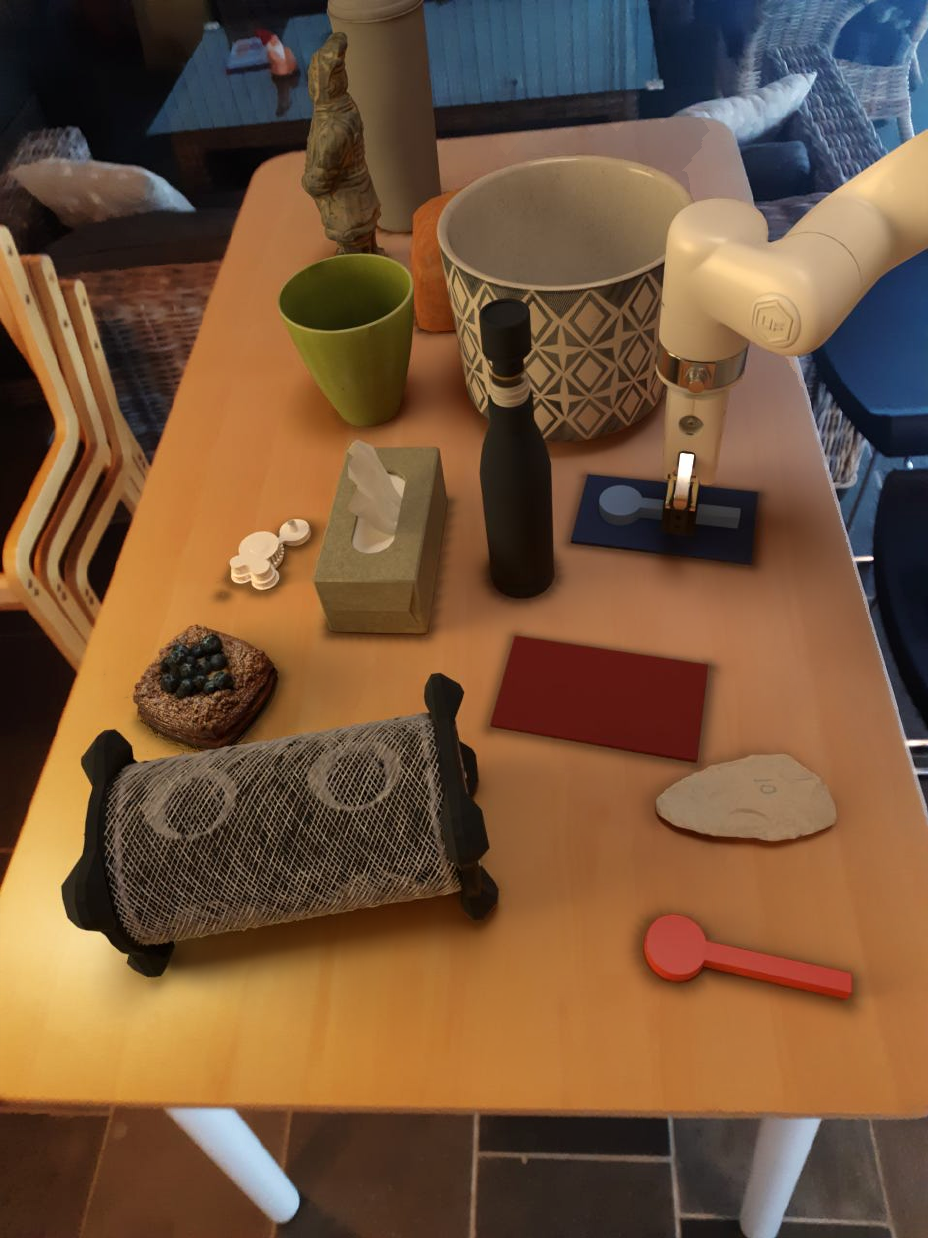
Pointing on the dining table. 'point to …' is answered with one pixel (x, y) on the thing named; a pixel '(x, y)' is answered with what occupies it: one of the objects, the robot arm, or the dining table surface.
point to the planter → (567, 283)
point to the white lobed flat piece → (266, 554)
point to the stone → (750, 800)
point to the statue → (339, 156)
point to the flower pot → (353, 331)
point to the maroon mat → (603, 697)
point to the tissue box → (383, 540)
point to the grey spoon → (656, 509)
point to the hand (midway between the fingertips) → (682, 497)
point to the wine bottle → (514, 459)
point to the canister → (392, 101)
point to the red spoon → (731, 959)
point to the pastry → (206, 688)
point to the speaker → (278, 831)
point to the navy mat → (648, 531)
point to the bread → (430, 268)
